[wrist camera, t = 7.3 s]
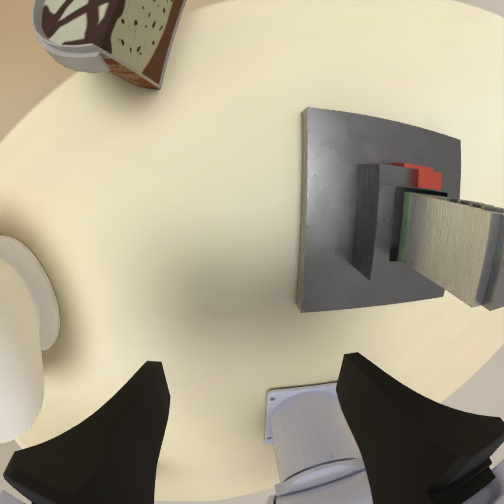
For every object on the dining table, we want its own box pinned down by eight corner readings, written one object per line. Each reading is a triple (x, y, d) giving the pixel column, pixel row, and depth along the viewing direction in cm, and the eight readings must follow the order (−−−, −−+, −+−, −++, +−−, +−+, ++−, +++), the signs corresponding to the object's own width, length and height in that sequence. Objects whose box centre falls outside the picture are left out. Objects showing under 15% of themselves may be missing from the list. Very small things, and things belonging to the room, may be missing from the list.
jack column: (442, 258, 15) (519, 301, 8) (397, 260, 15) (479, 315, 8) (450, 195, 14) (537, 218, 7) (404, 189, 13) (501, 211, 7)
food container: (125, -12, 12) (83, -75, 2) (193, -18, 13) (177, -98, 3) (83, 110, 15) (-8, 84, 6) (156, 108, 16) (87, 56, 6)
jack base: (434, 290, 21) (466, 313, 17) (296, 303, 21) (313, 340, 16) (449, 140, 17) (490, 139, 13) (301, 112, 17) (325, 92, 12)
